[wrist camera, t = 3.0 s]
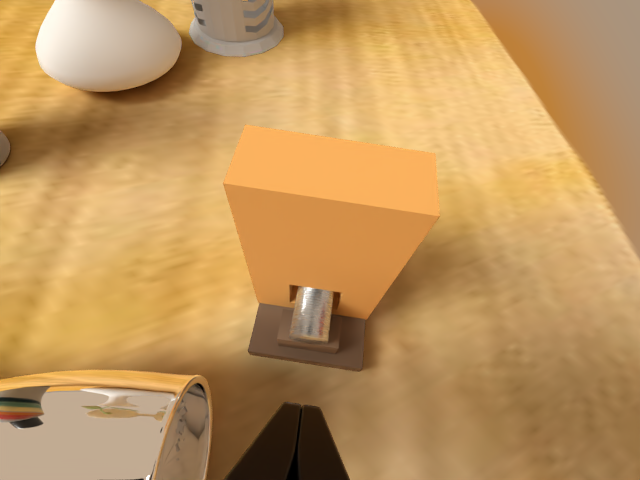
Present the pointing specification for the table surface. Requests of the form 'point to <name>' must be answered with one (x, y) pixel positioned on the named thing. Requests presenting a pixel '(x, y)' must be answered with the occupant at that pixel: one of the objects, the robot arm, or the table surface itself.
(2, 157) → the lotion bottle
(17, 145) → the table surface
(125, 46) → the flower in vase
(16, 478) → the beer glass
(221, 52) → the french press
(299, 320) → the steel pipe
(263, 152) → the collar
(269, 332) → the pipe board
